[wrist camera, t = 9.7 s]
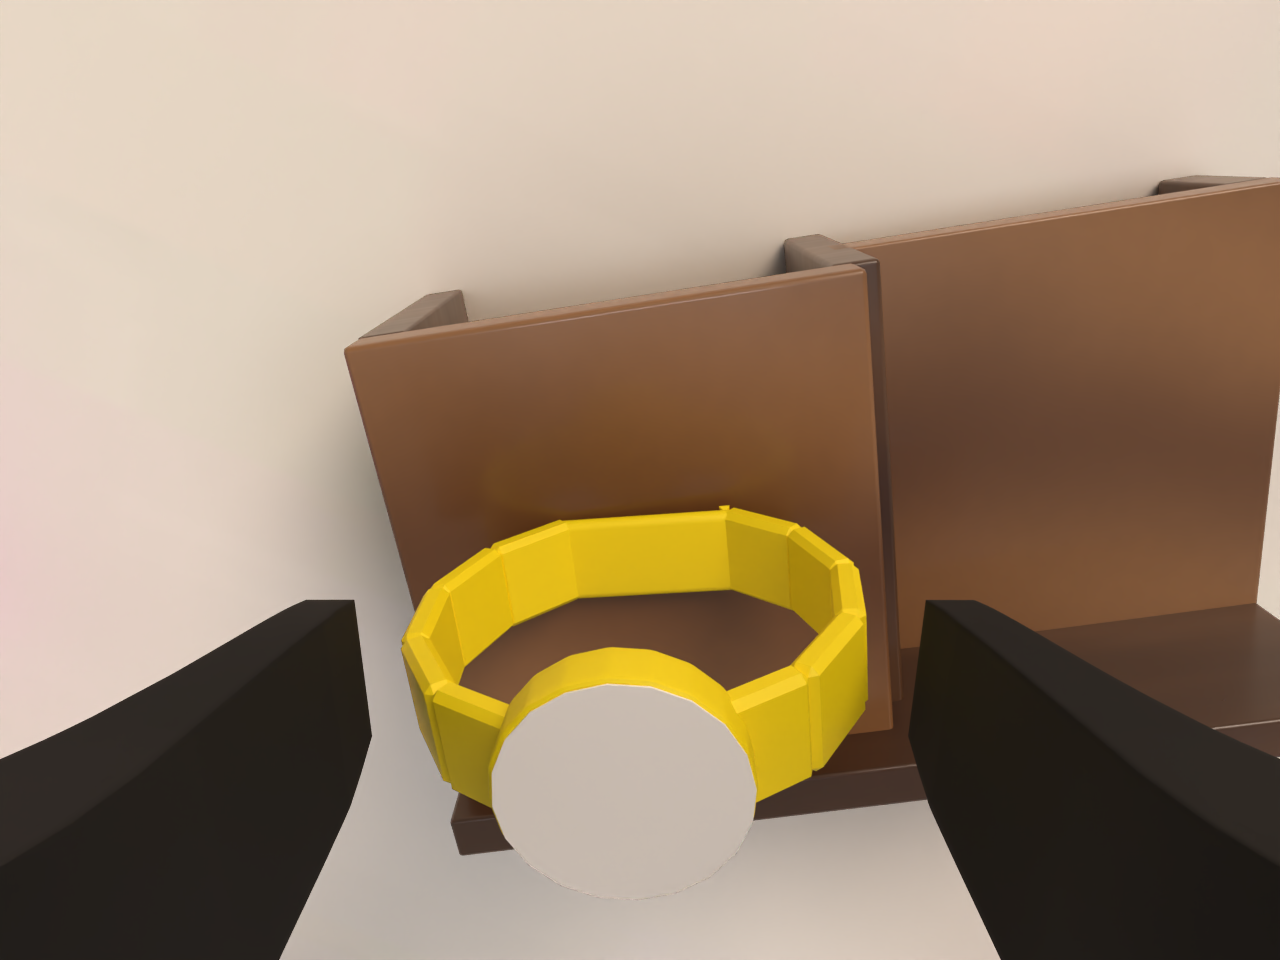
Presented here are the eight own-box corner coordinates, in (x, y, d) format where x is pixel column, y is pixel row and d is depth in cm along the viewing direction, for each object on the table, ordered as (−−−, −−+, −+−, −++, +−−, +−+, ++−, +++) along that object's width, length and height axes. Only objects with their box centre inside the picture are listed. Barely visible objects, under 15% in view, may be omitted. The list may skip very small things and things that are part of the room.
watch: (818, 451, 14) (941, 651, 8) (824, 606, 15) (936, 879, 9) (445, 489, 14) (314, 709, 8) (475, 639, 15) (376, 926, 9)
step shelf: (1170, 571, 21) (1393, 745, 14) (510, 658, 21) (458, 857, 15) (1197, 174, 17) (1496, 184, 11) (425, 294, 18) (316, 363, 12)
